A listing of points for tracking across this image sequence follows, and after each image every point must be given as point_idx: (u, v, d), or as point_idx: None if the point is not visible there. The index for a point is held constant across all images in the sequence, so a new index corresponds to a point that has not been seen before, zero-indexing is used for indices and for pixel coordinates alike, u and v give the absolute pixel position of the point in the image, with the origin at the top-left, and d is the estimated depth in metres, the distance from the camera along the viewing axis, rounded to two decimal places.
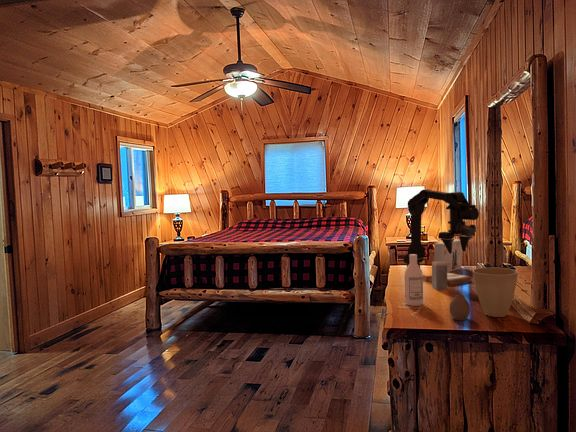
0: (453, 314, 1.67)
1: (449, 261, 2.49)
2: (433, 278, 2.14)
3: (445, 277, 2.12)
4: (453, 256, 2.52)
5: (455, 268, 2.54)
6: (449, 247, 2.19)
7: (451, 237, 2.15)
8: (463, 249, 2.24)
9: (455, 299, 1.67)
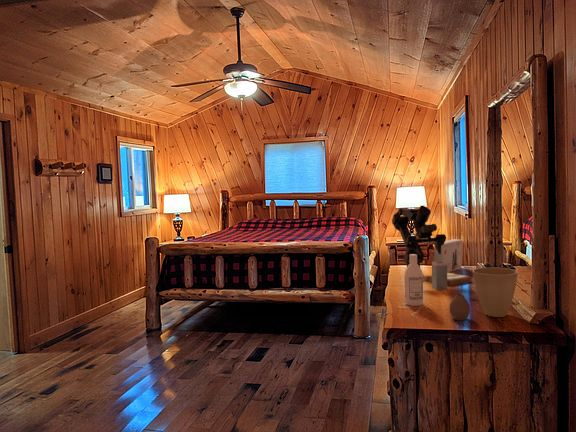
0: (453, 314, 1.67)
1: (449, 261, 2.49)
2: (433, 278, 2.14)
3: (445, 277, 2.12)
4: (453, 256, 2.52)
5: (455, 268, 2.54)
6: (417, 249, 2.24)
7: (412, 238, 2.25)
8: (439, 252, 2.24)
9: (455, 299, 1.67)
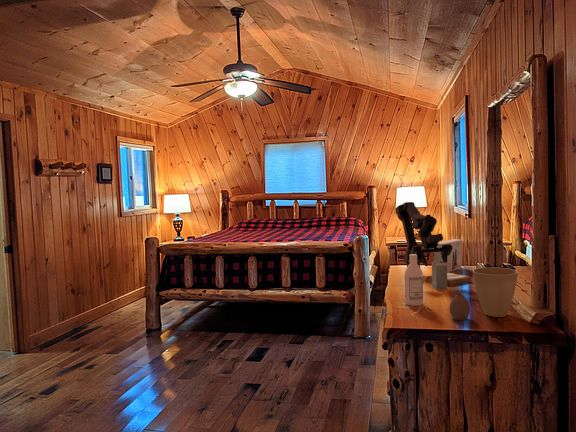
0: (453, 314, 1.67)
1: (449, 261, 2.49)
2: (433, 278, 2.14)
3: (445, 277, 2.12)
4: (453, 256, 2.52)
5: (455, 268, 2.54)
6: (423, 260, 2.18)
7: (418, 248, 2.19)
8: None
9: (455, 299, 1.67)
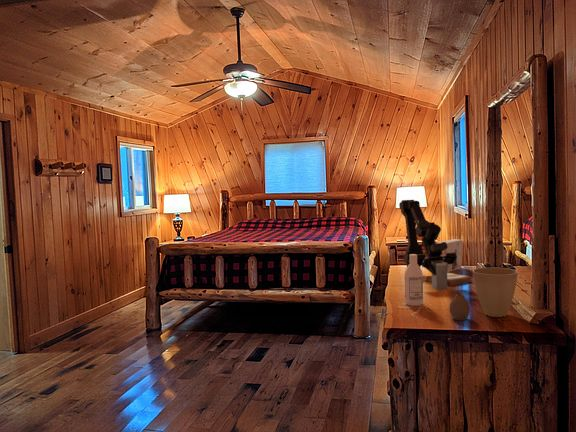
0: (453, 314, 1.67)
1: None
2: (433, 278, 2.14)
3: (445, 277, 2.12)
4: None
5: (455, 268, 2.54)
6: (431, 268, 2.14)
7: (422, 257, 2.15)
8: None
9: (455, 299, 1.67)
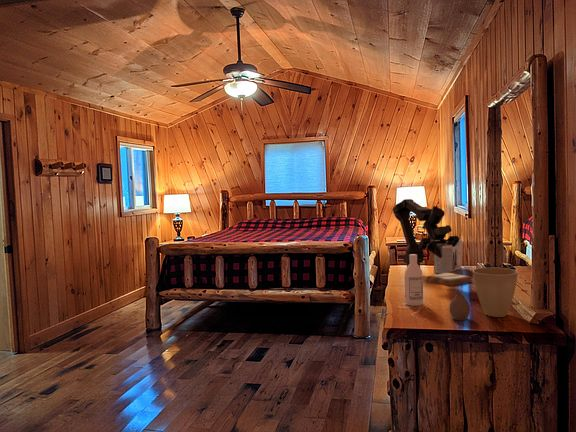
0: (453, 314, 1.67)
1: None
2: (439, 260, 2.18)
3: (450, 259, 2.16)
4: (453, 256, 2.52)
5: (455, 268, 2.54)
6: (436, 251, 2.17)
7: (427, 240, 2.17)
8: None
9: (455, 299, 1.67)
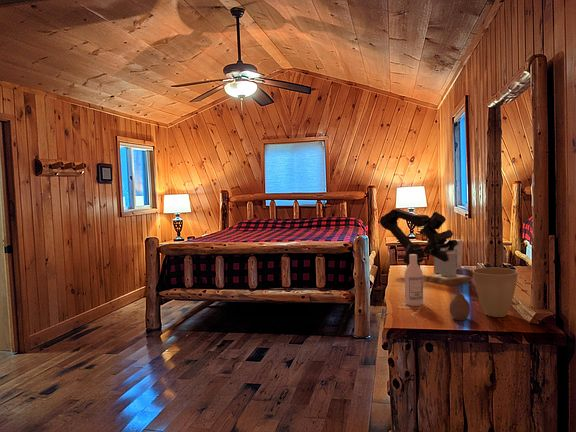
0: (453, 314, 1.67)
1: None
2: (444, 266, 2.26)
3: (455, 264, 2.26)
4: None
5: None
6: (441, 256, 2.25)
7: (434, 245, 2.24)
8: None
9: (455, 299, 1.67)
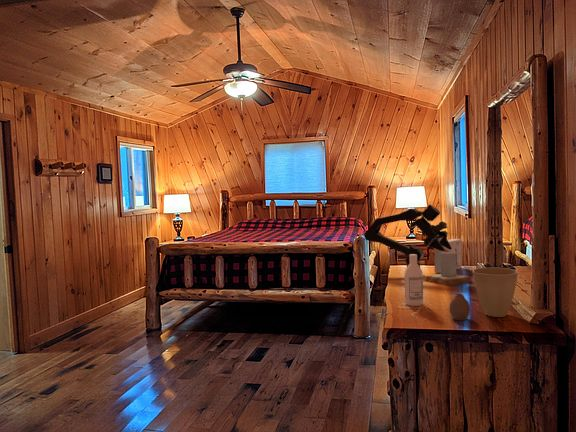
0: (453, 314, 1.67)
1: None
2: (444, 266, 2.26)
3: (455, 264, 2.26)
4: None
5: None
6: (440, 246, 2.32)
7: (435, 236, 2.32)
8: (449, 247, 2.39)
9: (455, 299, 1.67)
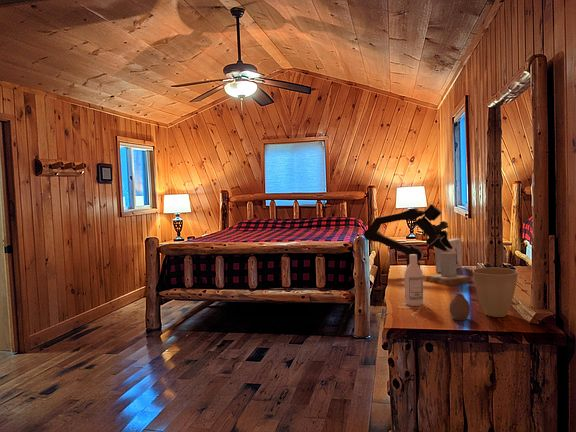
0: (453, 314, 1.67)
1: None
2: (444, 266, 2.26)
3: (455, 264, 2.26)
4: None
5: (456, 267, 2.56)
6: (442, 246, 2.33)
7: (437, 235, 2.32)
8: (450, 247, 2.40)
9: (455, 299, 1.67)
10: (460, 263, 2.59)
